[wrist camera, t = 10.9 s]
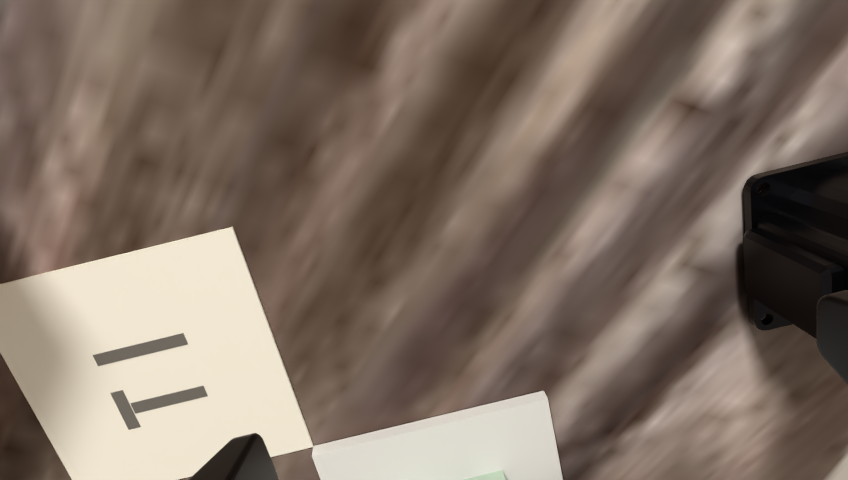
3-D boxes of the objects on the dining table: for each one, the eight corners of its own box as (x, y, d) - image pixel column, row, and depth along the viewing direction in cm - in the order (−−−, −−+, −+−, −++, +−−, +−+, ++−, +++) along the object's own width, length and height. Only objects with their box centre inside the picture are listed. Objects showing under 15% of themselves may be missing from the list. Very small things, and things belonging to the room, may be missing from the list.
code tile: (235, 224, 20) (231, 227, 20) (314, 440, 23) (313, 447, 23) (-26, 288, 20) (-34, 293, 20) (89, 495, 23) (84, 502, 23)
